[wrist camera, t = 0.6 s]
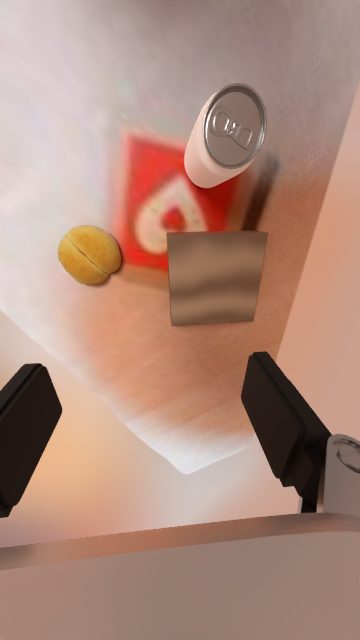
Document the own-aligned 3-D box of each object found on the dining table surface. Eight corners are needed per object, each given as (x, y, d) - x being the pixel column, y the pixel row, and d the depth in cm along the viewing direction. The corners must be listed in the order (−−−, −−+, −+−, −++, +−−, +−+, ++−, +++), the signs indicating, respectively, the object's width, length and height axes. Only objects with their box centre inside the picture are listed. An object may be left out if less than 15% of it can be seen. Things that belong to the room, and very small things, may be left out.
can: (195, 119, 26) (219, 55, 16) (238, 145, 28) (286, 103, 17) (176, 176, 29) (185, 153, 18) (216, 196, 30) (247, 187, 20)
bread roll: (131, 256, 33) (128, 261, 30) (93, 289, 35) (85, 297, 32) (92, 210, 30) (83, 210, 26) (51, 250, 32) (38, 254, 28)
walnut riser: (166, 232, 32) (167, 235, 28) (253, 230, 33) (267, 232, 28) (170, 313, 38) (171, 326, 34) (242, 309, 39) (253, 321, 35)
